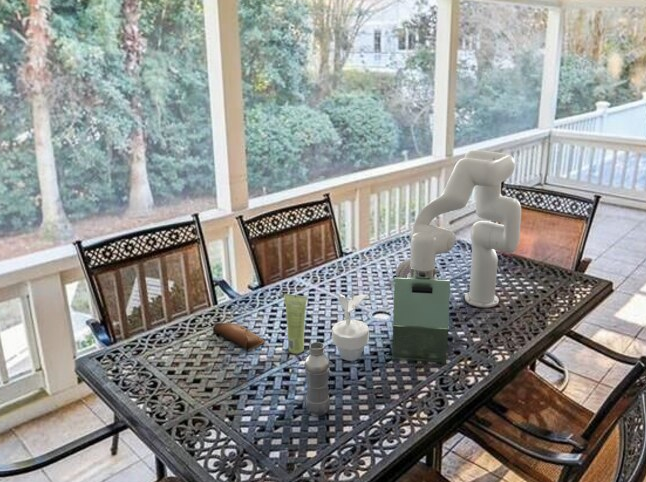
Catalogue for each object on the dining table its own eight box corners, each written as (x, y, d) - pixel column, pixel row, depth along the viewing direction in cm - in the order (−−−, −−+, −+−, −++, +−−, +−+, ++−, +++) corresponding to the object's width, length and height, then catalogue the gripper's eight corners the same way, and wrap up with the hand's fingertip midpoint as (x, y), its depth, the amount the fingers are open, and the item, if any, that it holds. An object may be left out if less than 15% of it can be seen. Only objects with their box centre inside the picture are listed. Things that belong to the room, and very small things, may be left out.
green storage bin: (393, 337, 179) (394, 305, 176) (444, 340, 177) (445, 308, 174) (392, 359, 167) (393, 326, 163) (446, 363, 165) (448, 329, 161)
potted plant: (342, 370, 161) (342, 295, 154) (326, 351, 171) (324, 280, 164) (378, 359, 167) (380, 286, 160) (360, 342, 177) (360, 272, 169)
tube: (302, 344, 176) (300, 289, 170) (308, 351, 171) (306, 296, 166) (286, 348, 173) (283, 293, 168) (291, 356, 169) (289, 300, 163)
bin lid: (394, 277, 163) (394, 280, 158) (449, 280, 161) (451, 283, 156) (393, 324, 163) (392, 328, 158) (448, 327, 161) (449, 332, 156)
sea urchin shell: (389, 281, 222) (389, 263, 220) (403, 269, 233) (404, 252, 231) (418, 288, 216) (419, 269, 213) (432, 276, 227) (432, 258, 224)
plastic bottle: (305, 404, 146) (303, 339, 140) (329, 403, 146) (329, 338, 141) (305, 420, 140) (303, 353, 134) (331, 418, 140) (330, 351, 134)
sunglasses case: (266, 340, 177) (258, 328, 173) (253, 357, 174) (244, 346, 169) (232, 323, 188) (223, 312, 184) (219, 339, 185) (209, 328, 181)
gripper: (449, 268, 168) (446, 320, 173) (395, 266, 170) (393, 317, 175) (450, 278, 161) (447, 332, 166) (394, 275, 163) (392, 329, 168)
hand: (420, 324), depth 170 cm, fingers closed on supplement box, 4 cm apart
